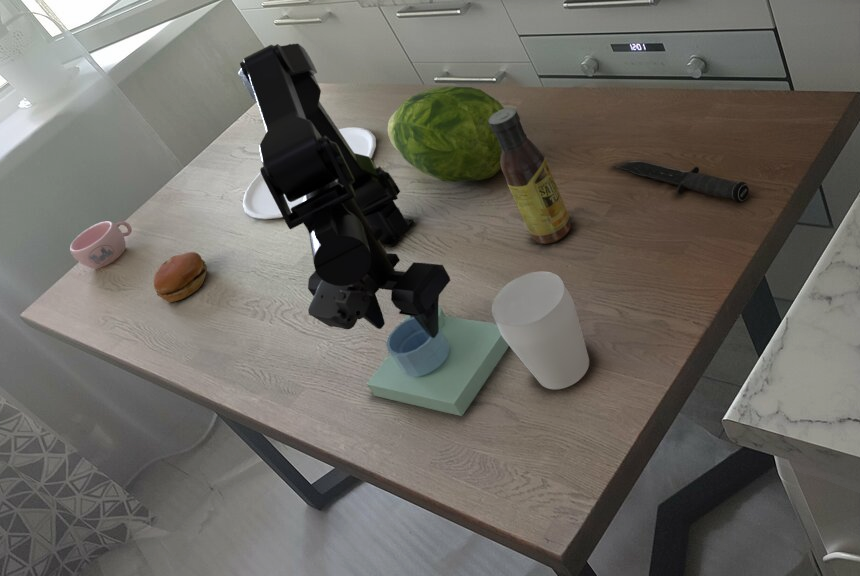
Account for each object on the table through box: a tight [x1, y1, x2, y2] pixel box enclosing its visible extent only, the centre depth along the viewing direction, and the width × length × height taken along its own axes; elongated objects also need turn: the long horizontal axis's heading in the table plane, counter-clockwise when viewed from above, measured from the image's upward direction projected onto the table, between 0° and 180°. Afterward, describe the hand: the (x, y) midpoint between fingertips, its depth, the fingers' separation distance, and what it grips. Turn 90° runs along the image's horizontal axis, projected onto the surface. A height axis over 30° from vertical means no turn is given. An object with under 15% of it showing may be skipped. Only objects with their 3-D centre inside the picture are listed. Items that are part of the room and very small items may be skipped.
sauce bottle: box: [489, 107, 572, 245], centre depth 117 cm, size 7×6×20 cm
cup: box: [490, 270, 590, 390], centre depth 98 cm, size 9×9×12 cm
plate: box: [242, 126, 377, 220], centre depth 167 cm, size 29×29×1 cm
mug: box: [69, 220, 133, 270], centre depth 171 cm, size 12×10×6 cm
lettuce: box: [387, 86, 505, 183], centre depth 142 cm, size 15×27×16 cm, turn 52°
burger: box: [152, 251, 208, 303], centre depth 150 cm, size 10×9×5 cm
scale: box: [366, 304, 510, 417], centre depth 109 cm, size 15×14×4 cm
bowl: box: [385, 317, 450, 376], centre depth 107 cm, size 7×7×4 cm
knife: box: [616, 160, 750, 203], centre depth 121 cm, size 24×5×3 cm, turn 36°
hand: (407, 330), depth 105 cm, fingers open, 9 cm apart
